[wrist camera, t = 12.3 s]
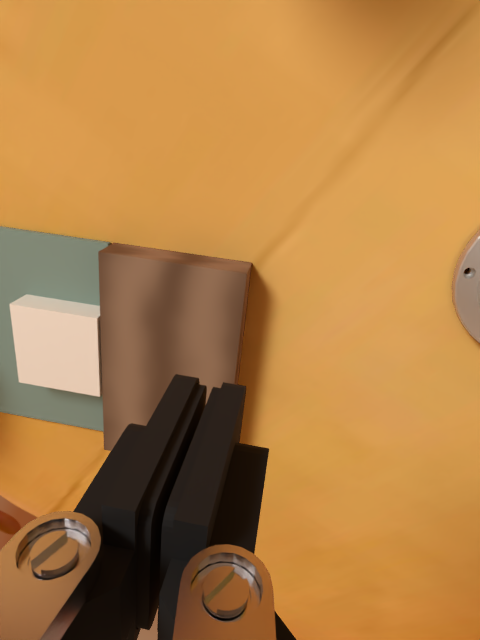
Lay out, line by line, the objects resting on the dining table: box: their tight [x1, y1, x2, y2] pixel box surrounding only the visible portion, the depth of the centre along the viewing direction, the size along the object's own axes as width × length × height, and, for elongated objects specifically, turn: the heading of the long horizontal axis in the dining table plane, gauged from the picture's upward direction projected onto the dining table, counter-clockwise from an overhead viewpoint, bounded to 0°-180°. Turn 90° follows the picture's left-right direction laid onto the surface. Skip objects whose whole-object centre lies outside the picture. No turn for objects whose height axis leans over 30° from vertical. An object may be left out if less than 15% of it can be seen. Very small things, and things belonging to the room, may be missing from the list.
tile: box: [9, 294, 103, 397], centre depth 41 cm, size 8×8×2 cm
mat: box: [0, 226, 110, 431], centre depth 43 cm, size 13×20×1 cm, turn 174°
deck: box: [98, 243, 252, 451], centre depth 40 cm, size 12×20×3 cm, turn 174°
